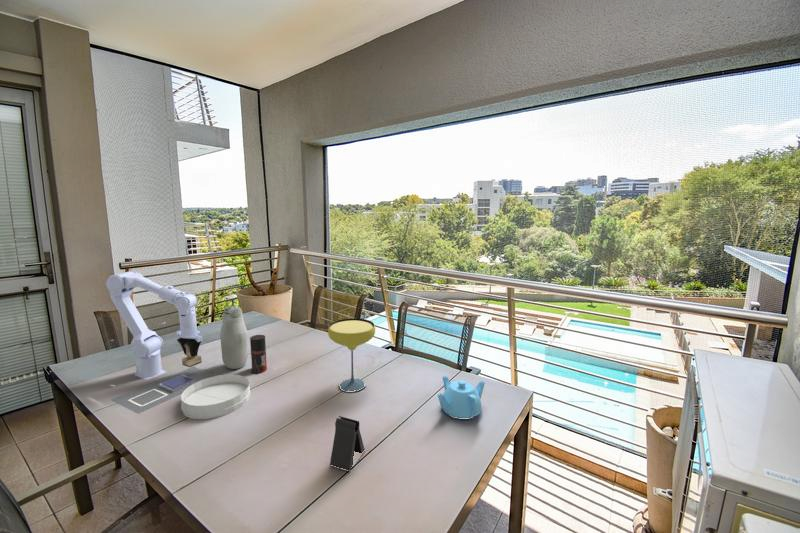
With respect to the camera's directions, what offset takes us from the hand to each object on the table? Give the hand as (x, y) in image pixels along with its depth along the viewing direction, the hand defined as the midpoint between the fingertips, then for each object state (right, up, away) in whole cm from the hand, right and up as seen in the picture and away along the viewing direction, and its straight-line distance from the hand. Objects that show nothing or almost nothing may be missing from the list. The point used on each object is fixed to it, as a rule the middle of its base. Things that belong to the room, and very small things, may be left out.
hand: (191, 354), depth 141 cm
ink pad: (0, -10, -8) cm, 13 cm away
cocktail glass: (+68, -11, -6) cm, 69 cm away
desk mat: (-2, -11, -10) cm, 14 cm away
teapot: (+108, -14, -21) cm, 111 cm away
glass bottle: (+15, -8, +8) cm, 19 cm away
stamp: (0, -4, +1) cm, 4 cm away
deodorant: (+26, -8, +6) cm, 28 cm away
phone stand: (+72, -18, -46) cm, 87 cm away
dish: (+20, -13, -18) cm, 30 cm away
